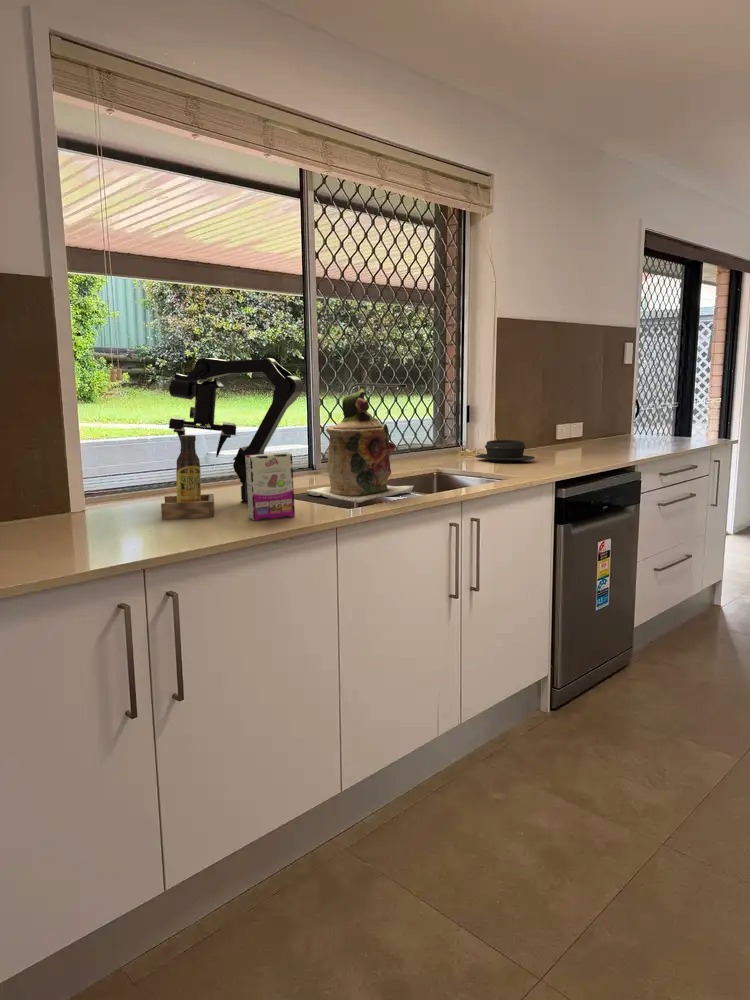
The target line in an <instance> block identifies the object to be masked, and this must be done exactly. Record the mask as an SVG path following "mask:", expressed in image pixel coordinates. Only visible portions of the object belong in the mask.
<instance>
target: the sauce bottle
mask: <svg viewBox="0 0 750 1000" xmlns="http://www.w3.org/2000/svg"><path fill="white" fill-rule="evenodd" d="M196 437H197V436H196V435H194V434H185V435H180V439H179V441H180V453H179V455H178V457H177V459H176V470H175V472H176V479H175V480H176V496H177V503H178V502H199V501H201V494H202V491H201V490H202V487H201V486H202V485H201V483H202V480H201V479H202V478H201V463H200V458H199V456H198V454H197V451H196V440H197V439H196Z"/></svg>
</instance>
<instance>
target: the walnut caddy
mask: <svg viewBox="0 0 750 1000" xmlns="http://www.w3.org/2000/svg"><path fill="white" fill-rule="evenodd" d="M160 508H161V511H160V512H161V520H175V519H176V520H179V519H193V518H198V519H199V518H214V517H215V494H214V493H204V494H203V493H201V501H199V502H178V503H177V495H164V503H163V502H161V503H160Z"/></svg>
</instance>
